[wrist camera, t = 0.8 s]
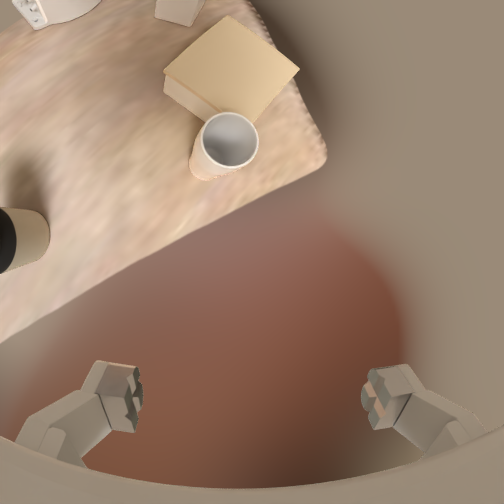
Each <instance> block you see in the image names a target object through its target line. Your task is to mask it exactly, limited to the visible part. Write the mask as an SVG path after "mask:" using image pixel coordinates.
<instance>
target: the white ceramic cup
mask: <svg viewBox="0 0 504 504" xmlns="http://www.w3.org/2000/svg"><path fill="white" fill-rule="evenodd" d="M258 147H259V137H258V133H257V130H256V128H255V127H254V125H253V124H252V123H251V121H250V120H248V119H247V118H246V117H244V116H243V115H241V114H238V113H234V112H222V113H218V114H216V115H214V116H212V117H211V118H210V119H208V120H207V121H206V123H205V124H204V125H203V127H202V128H201V129H200V131H199V133H198V135H197V137H196V139H195V142H194V146H193V150H192V154H191V156H190V158H189V169H190V171H191V173H192V174H193V175H194V176H195V177H196V178H198V179H200V180H204V181H208V180H212V179H214V178H216V177H220V176H224V175H228V174H231V173H233V172H235V171H237V170H239V169H241V168H242V167H244V166H245V165H246V164H248V163H249V162H250V161H251V160H252V159H253V158H254V157H255V155H256V153H257V151H258Z"/></svg>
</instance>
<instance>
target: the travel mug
mask: <svg viewBox="0 0 504 504" xmlns="http://www.w3.org/2000/svg"><path fill="white" fill-rule="evenodd" d="M49 240H50V232H49V227H48V224H47V222H46V220H45V219H44V217H43V216H42V215H41V214H39V213H38V212H36V211H33V210H25V209H15V208H6V207H0V274H2V273H4V272H7V271H10V270H12V269H15V268H18V267H20V266H23V265H26V264H29V263H31V262H34V261H37V260H38V259H40V258H41V257H42V256H43V255H44V254H45V252H46V250H47V248H48V245H49Z"/></svg>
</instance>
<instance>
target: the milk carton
mask: <svg viewBox="0 0 504 504" xmlns="http://www.w3.org/2000/svg"><path fill="white" fill-rule="evenodd" d="M204 3H205V0H157V1H156V8H155V16H154V18H158V19H162V20H166V21H170V22H173V23H177V24H181V25H184V26H188V27H191V25H192V24H193V22H194V20H195V19H196V17H197V15H198V13H199V12H200V10H201V8H202V7H203V5H204Z"/></svg>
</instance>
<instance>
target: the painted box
mask: <svg viewBox="0 0 504 504" xmlns="http://www.w3.org/2000/svg"><path fill="white" fill-rule="evenodd" d="M298 71H299V68H298V67H297V66H296V65H294V64H293V63H292V62H291V61H289V60H288V59H287V58H286V57H285V56H284V55H282V54H281V53H280V52H279V51H277V50H276V49H275V48H274V47H272V46H271V45H270V44H268V43H267V42H266V41H264V40H263V39H262V38H260V37H259V36H258V35H256V34H255V33H253V32H252V31H251V30H249V29H248V28H246V27H245V26H244V25H242V24H241V23H239V22H238V21H236V20H235V19H233V18H232V17H230V16H229V15H227V16H225V17H224V18H223V19H222V20H220V21H219V22H218V23H216V24H215V25H214V26H213V27H211V28H210V29H209V30H208V31H206V32H205V33H204V34H203V35H202V36H200V37H199V38H198V39H197V40H196V41H194V42H193V43H192V44H191V45H190V46H189V47H188V48H186V49H185V50H184V51H183V52H182V53H181V54H180V55H179V56H178V57H176V58H175V59H174V60H173V61H172V62H171V63H170V64H169V65H168V66H167V67H166V68H165V69H164V71H163V73H164V74H166V77H165V83H164V89H163V92H164V93H165V94H167V95H168V96H169V97H171V98H172V99H174V100H175V101H176V102H178V103H179V104H181V105H182V106H183V107H185V108H186V109H188V110H189V111H190V112H192V113H193V114H194V115H196V116H197V117H198V118H200V119H201V120H202V121H204V122H205V123H206V121H207V120H208V119H210V118H211V117H212V116H214V115H216V114H218V113H222V112H234V113H238V114H241V115H243V116H244V117H246V118H247V119H248V120H250V121H251V123H252V124H253V123H254V121H255V120H256V119H257V118H258V117H259V115H260V114H261V113H262V112H263V111H264V109H265V108H266V107H267V106H268V105H269V104H270V102H271V101H272V100H273V99H274V98H275V97H276V95H277V94H278V93H279V92H280V91H281V90H282V89H283V87H284V86H285V85H286V84H287V83H288V82H289V81H290V79H291V78H292V77H293V76H294V75H295V74H296V73H297V72H298Z"/></svg>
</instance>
